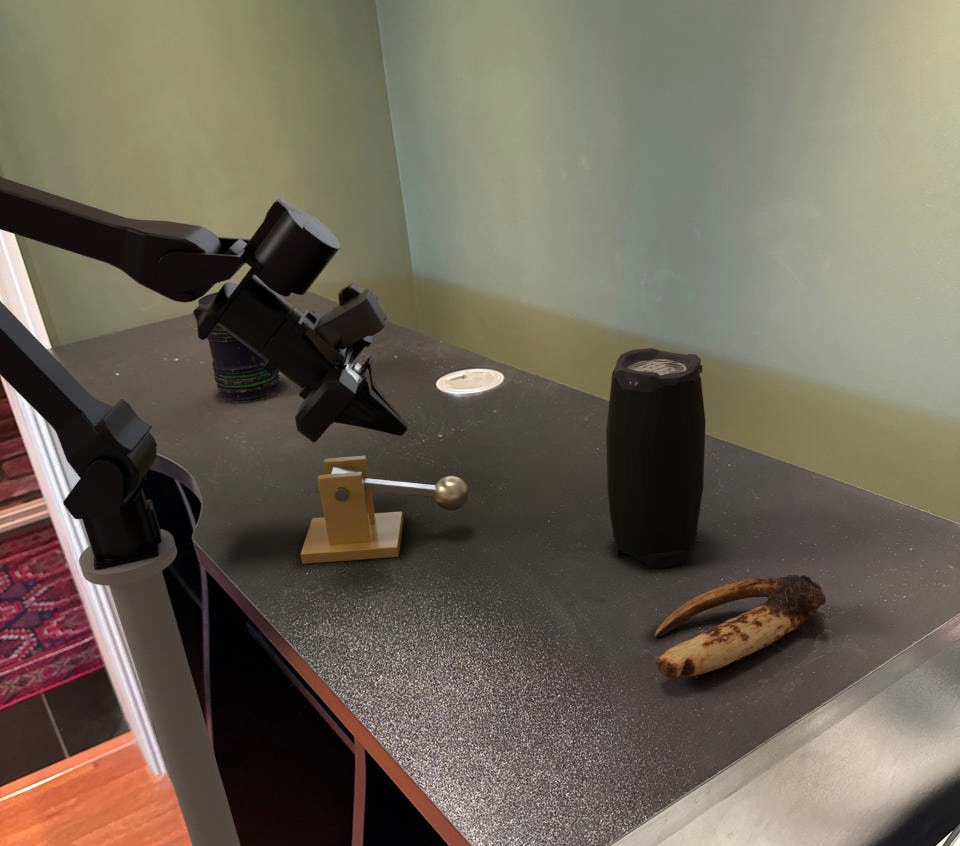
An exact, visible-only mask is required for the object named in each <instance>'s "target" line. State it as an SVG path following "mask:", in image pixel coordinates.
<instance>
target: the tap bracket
mask: <svg viewBox="0 0 960 846" xmlns="http://www.w3.org/2000/svg"><path fill="white" fill-rule="evenodd" d="M322 464H323V470H324V474H318V477H317V484H318V490H319V495H320V500H321V506H322V511H323V516H322V517H321V516H320V517H312V518H311V520H310V523H309V527H308V529H307V533H306V536H305V539H304V542H303V545H302V548H301V552H300V560H301V563H302V564H303V565H307V564H320V563H321V564H322V563H334V562H335V563H336V562H345V561H347V562H348V561H360V560H374V559H389V558H398V557H399V556H400V549H401V542H402V536H403V535H402V534H403V529H404V528H403V527H404V521H405V520H404V514H403V511H401V510H400V511H389V512H388V511H387V512H376V513H375V506H374V499H373V492H370V491H365V488H364V481H363V478H367V479H371V478H370V472H369V467H368V466H369V465H368V461H367V455H356V456H355V455H354V456H341V457H327V458H324V459H323V461H322ZM333 467H343V468H353V469H360V472H351V473H338V474H331V472H332V469H333Z"/></svg>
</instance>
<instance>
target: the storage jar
mask: <svg viewBox="0 0 960 846" xmlns="http://www.w3.org/2000/svg"><path fill="white" fill-rule="evenodd" d="M218 292H219V291H217V292H212V293H209V294H207V295H206V294H205V295H204V296H202V297H200V298H198V299H197V303H198V306H199V305H201V304H202V305H207V304H210V303H211V301H212V300H213V299H214V297H215V296H216V294H217V293H218ZM206 340H208V345H209V349H210V354H211V357H212V362H211V363H212V364H211V365H212V369H213V372H214V373H213V377H214V381H215V383H216V387H217V389H218V391H219V392H218V396H219V399H220V400H221V401H223V402H226V403H232V404H243V403H244V404H245V403H251V402H257V401H263V400H266V399H267V398H270V397H273V396H275V395H277V394H278V393H279V392H280V391H282V388H283V387H282V383H281V381H280V378H281V377H280V374H279V373H280V372H279V371H278V370H277V369H276V370H275V371H274V372H273V374H272V375H271V374H270V373H269V372H267V371H266V370H265V369H263V367H264V365H265V364H266V361H265V360H264V359H262V358H261V357H260V356H258V354H259V353H260V352H259V353H258V354H256V353H254V352H253V351H252V350H251V349H249V348H248V347H247V346H245V345H244V344H243V343H241V342H240V341H239V340H237V339H236V338H235V337H233V336H232V335H231V334H230V333H228V332H227V331H226V330H224V329H223V328H222V327H220V326H219V325H217V326H216V327H215V329H214V330H213V331H212V332H211V333H210V334H209V336H208V337H207V338H206ZM262 349H263V348H262Z"/></svg>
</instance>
